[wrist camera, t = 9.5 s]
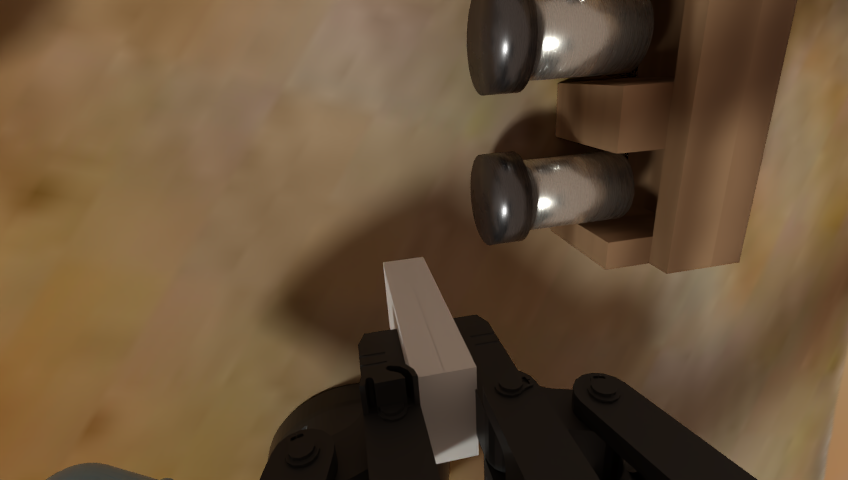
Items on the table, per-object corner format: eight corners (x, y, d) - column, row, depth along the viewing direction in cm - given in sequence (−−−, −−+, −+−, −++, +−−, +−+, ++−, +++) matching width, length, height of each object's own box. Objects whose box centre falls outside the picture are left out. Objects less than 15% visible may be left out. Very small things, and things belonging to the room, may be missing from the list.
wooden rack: (551, 230, 34) (621, 280, 26) (572, -229, 24) (697, -387, 16) (644, 218, 35) (739, 262, 27) (700, -224, 25) (878, -368, 17)
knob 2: (471, 228, 31) (499, 258, 26) (469, 147, 29) (499, 164, 24) (587, 213, 32) (635, 239, 27) (592, 135, 30) (646, 148, 25)
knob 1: (468, 93, 27) (499, 97, 22) (465, -9, 25) (499, -29, 20) (596, 83, 29) (654, 85, 24) (604, -14, 27) (668, -35, 22)
